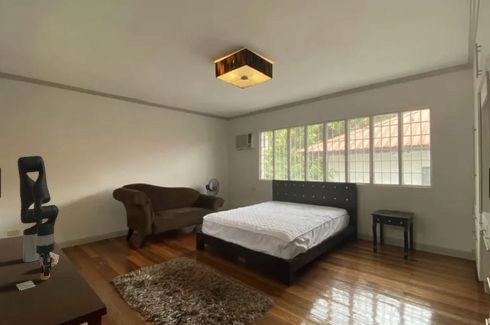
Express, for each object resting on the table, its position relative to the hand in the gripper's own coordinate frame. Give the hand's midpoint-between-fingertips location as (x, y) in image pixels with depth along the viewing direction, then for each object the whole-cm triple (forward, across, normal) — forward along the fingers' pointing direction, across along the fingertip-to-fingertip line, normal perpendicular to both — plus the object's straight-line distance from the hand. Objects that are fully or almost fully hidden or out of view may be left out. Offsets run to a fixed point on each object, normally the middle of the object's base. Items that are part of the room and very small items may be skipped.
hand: (45, 274), depth 127 cm
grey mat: (+3, 0, -8) cm, 8 cm away
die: (+3, -16, +6) cm, 17 cm away
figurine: (+3, 0, +1) cm, 3 cm away
